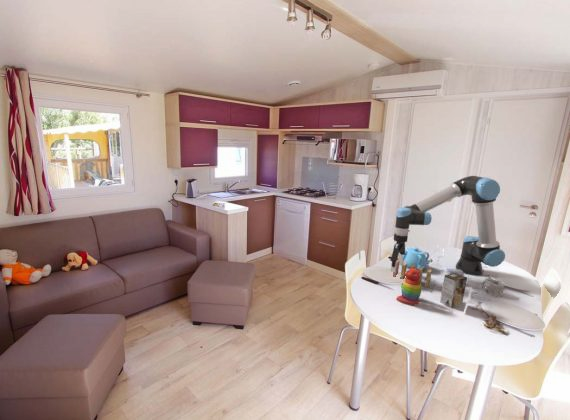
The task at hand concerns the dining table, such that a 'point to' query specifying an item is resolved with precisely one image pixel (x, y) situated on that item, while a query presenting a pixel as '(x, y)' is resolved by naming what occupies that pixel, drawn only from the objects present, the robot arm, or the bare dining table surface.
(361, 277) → the dining table surface
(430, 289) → the domino mat
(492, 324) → the frog figurine
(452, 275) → the coffee box
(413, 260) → the decorative pot
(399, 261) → the domino
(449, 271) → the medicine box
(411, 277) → the stacking bear
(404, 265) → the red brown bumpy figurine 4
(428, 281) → the domino
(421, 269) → the domino
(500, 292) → the mug
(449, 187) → the robot arm
